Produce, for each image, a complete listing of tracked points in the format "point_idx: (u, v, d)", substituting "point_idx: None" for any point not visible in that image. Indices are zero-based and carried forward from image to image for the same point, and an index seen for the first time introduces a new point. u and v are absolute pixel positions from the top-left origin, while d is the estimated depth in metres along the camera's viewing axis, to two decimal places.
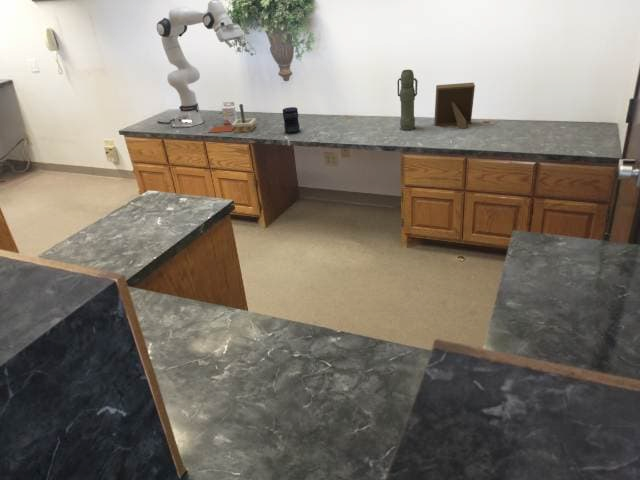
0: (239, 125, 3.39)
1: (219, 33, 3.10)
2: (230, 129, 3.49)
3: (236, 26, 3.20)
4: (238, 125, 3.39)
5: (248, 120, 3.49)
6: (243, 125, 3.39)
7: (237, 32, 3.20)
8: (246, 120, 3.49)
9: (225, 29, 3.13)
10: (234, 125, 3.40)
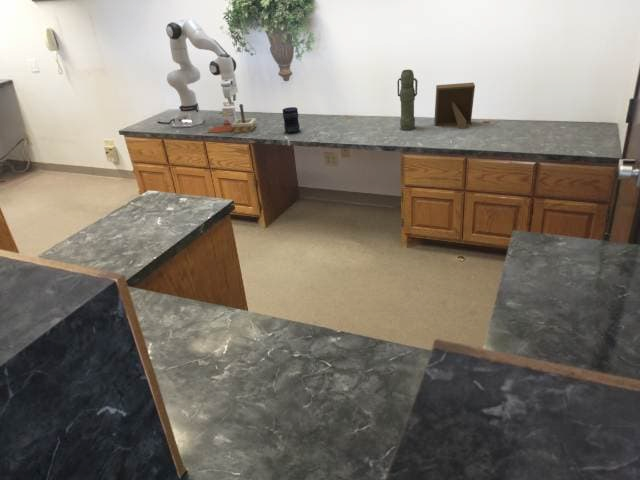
0: (239, 125, 3.39)
1: (227, 91, 3.20)
2: (230, 129, 3.49)
3: (235, 83, 3.33)
4: (238, 125, 3.39)
5: (248, 120, 3.49)
6: (243, 125, 3.39)
7: (235, 89, 3.34)
8: (246, 120, 3.49)
9: (231, 87, 3.24)
10: (234, 125, 3.40)
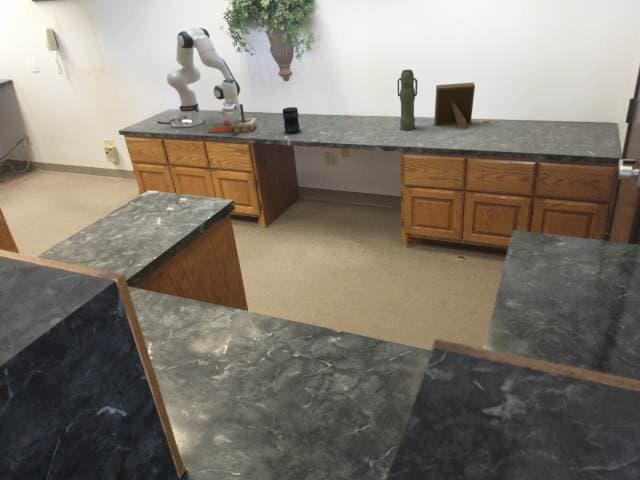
0: (239, 125, 3.39)
1: (231, 116, 3.28)
2: (230, 129, 3.49)
3: None
4: (238, 125, 3.39)
5: (248, 120, 3.49)
6: (243, 125, 3.39)
7: (238, 112, 3.41)
8: (246, 120, 3.49)
9: (234, 112, 3.32)
10: None
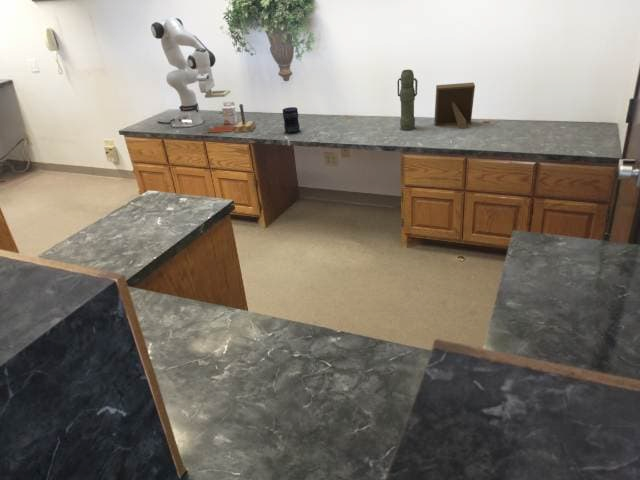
0: (212, 96, 3.36)
1: (203, 85, 3.24)
2: (230, 129, 3.49)
3: (211, 77, 3.37)
4: (211, 96, 3.36)
5: (222, 92, 3.45)
6: (216, 96, 3.35)
7: (212, 83, 3.37)
8: (220, 92, 3.46)
9: (207, 81, 3.28)
10: None
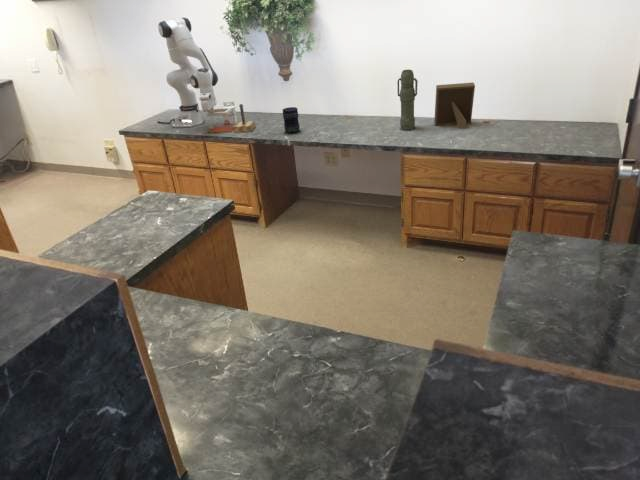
0: (214, 114, 3.41)
1: (206, 104, 3.30)
2: (230, 129, 3.49)
3: (213, 96, 3.43)
4: (213, 114, 3.41)
5: (224, 110, 3.51)
6: (218, 114, 3.41)
7: (214, 102, 3.43)
8: (222, 110, 3.51)
9: (209, 100, 3.34)
10: None
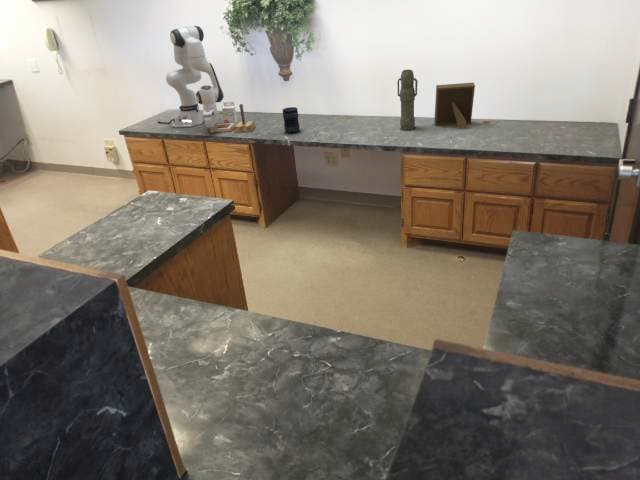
0: (217, 130, 3.47)
1: (209, 121, 3.35)
2: None
3: (216, 112, 3.48)
4: (216, 130, 3.47)
5: (227, 125, 3.56)
6: (221, 130, 3.46)
7: (217, 118, 3.49)
8: (225, 125, 3.57)
9: (212, 117, 3.39)
10: None
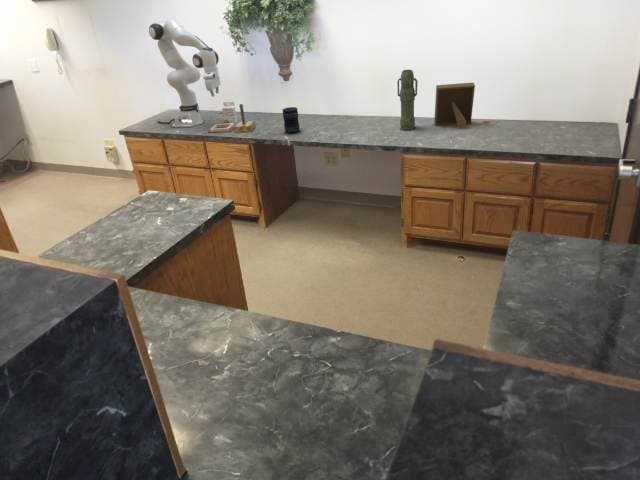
0: (217, 130, 3.47)
1: (209, 83, 3.31)
2: None
3: (217, 75, 3.44)
4: (216, 130, 3.47)
5: (227, 125, 3.56)
6: (221, 130, 3.46)
7: (218, 81, 3.45)
8: (225, 125, 3.57)
9: (213, 80, 3.35)
10: (212, 130, 3.47)
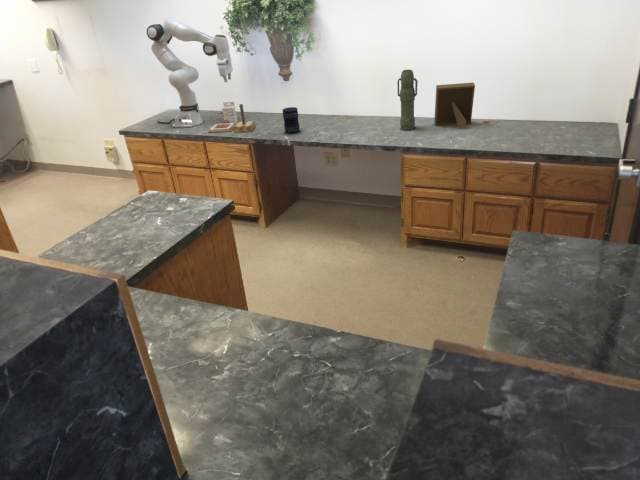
0: (217, 130, 3.47)
1: (223, 69, 3.42)
2: None
3: (230, 62, 3.55)
4: (216, 130, 3.47)
5: (227, 125, 3.56)
6: (221, 130, 3.46)
7: (230, 68, 3.55)
8: (225, 125, 3.57)
9: (226, 66, 3.46)
10: (212, 130, 3.47)
